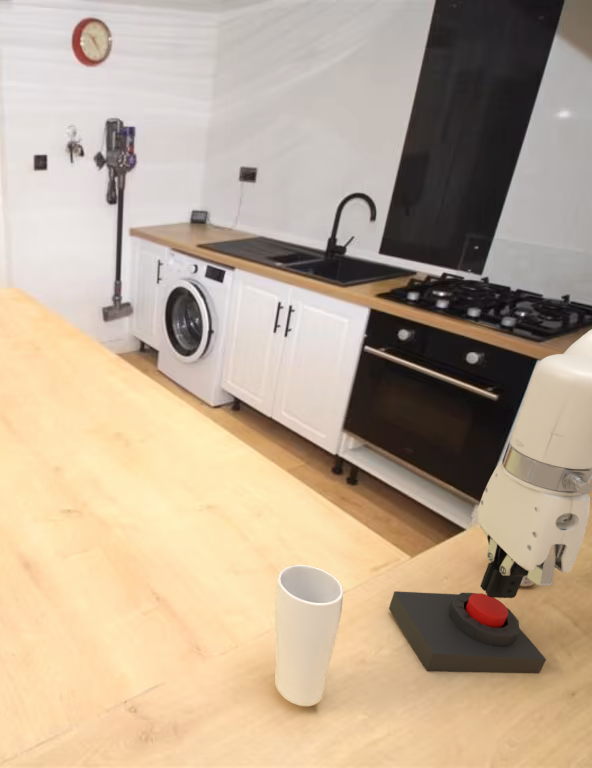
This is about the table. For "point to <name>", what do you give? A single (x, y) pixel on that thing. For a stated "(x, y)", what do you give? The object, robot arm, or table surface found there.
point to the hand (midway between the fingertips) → (497, 592)
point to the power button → (487, 610)
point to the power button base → (461, 636)
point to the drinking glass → (305, 631)
